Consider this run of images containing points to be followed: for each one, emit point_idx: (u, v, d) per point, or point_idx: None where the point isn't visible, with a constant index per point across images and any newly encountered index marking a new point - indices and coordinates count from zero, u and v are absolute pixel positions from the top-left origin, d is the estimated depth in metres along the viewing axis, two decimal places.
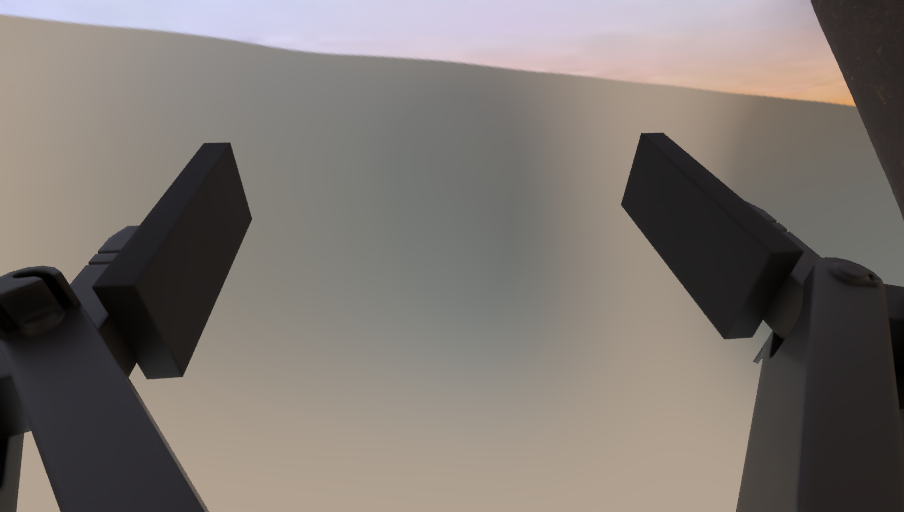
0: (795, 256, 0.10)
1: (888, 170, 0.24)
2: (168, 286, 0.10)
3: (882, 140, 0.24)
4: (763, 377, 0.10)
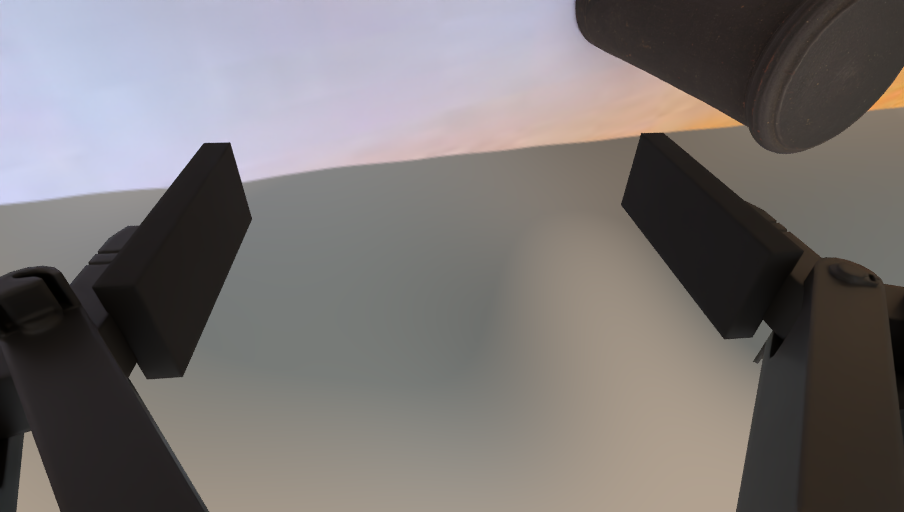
0: (795, 256, 0.10)
1: (686, 86, 0.28)
2: (168, 286, 0.10)
3: (667, 70, 0.29)
4: (763, 377, 0.10)
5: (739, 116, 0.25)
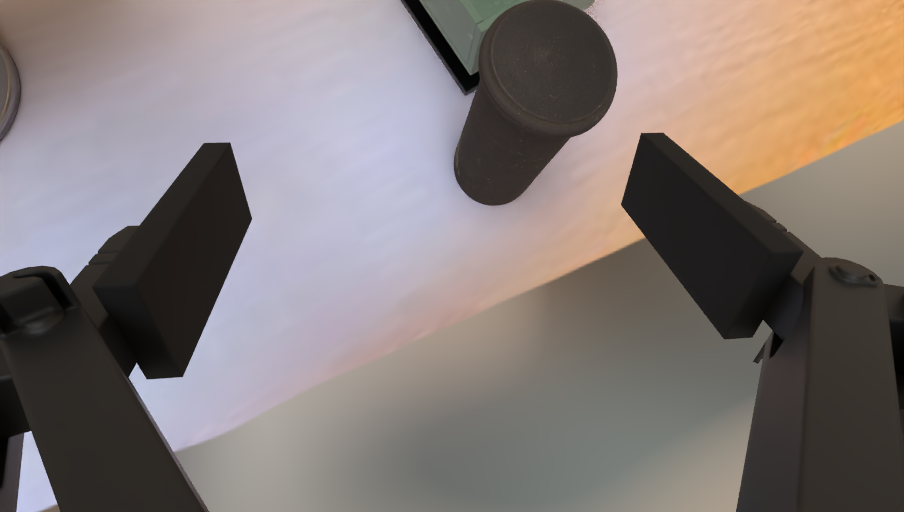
0: (795, 256, 0.10)
1: (506, 157, 0.34)
2: (168, 286, 0.10)
3: (494, 159, 0.35)
4: (763, 377, 0.10)
5: (523, 134, 0.29)
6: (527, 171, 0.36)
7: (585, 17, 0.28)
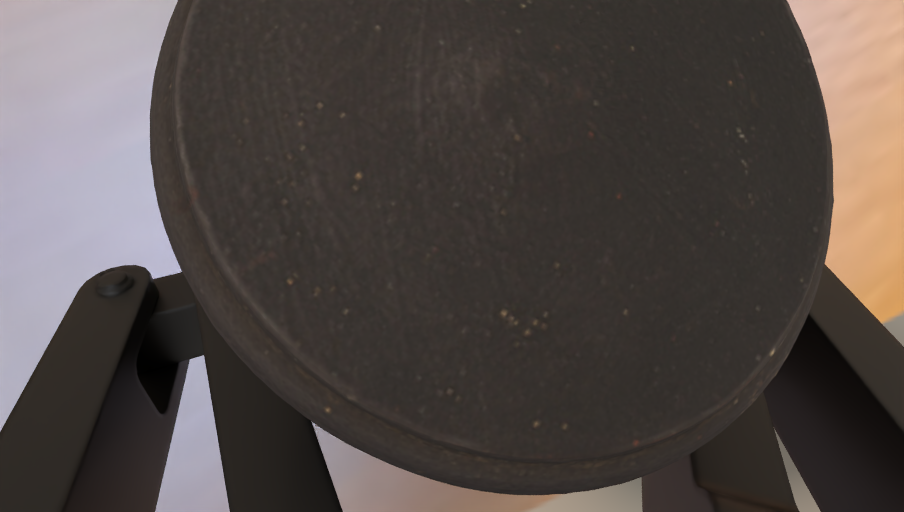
0: None
1: None
2: None
3: None
4: None
5: None
6: None
7: None
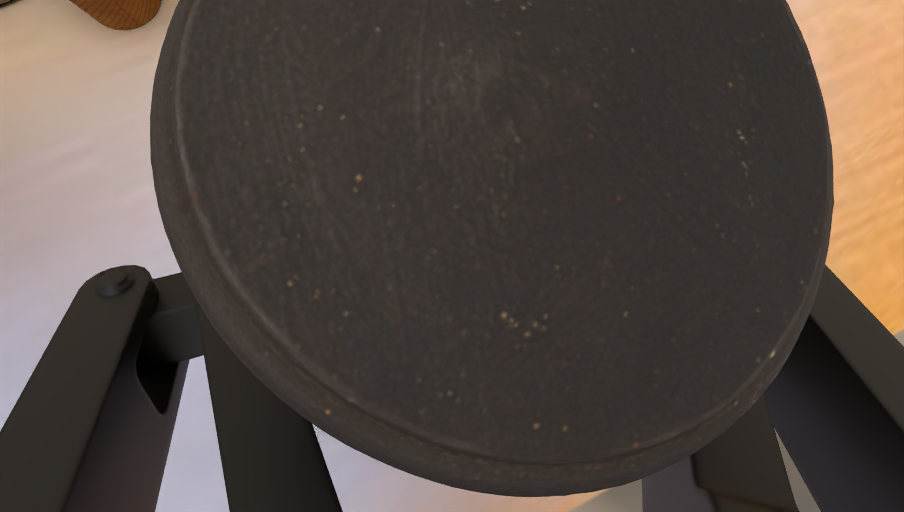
0: None
1: None
2: None
3: None
4: None
5: None
6: None
7: None
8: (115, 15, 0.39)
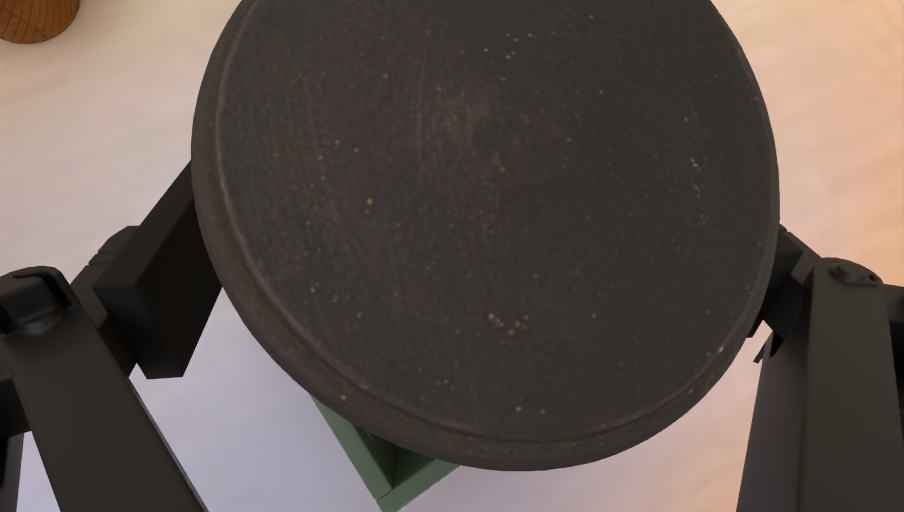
0: (795, 256, 0.10)
1: None
2: (168, 287, 0.10)
3: None
4: (763, 377, 0.10)
5: None
6: None
7: None
8: (6, 24, 0.28)
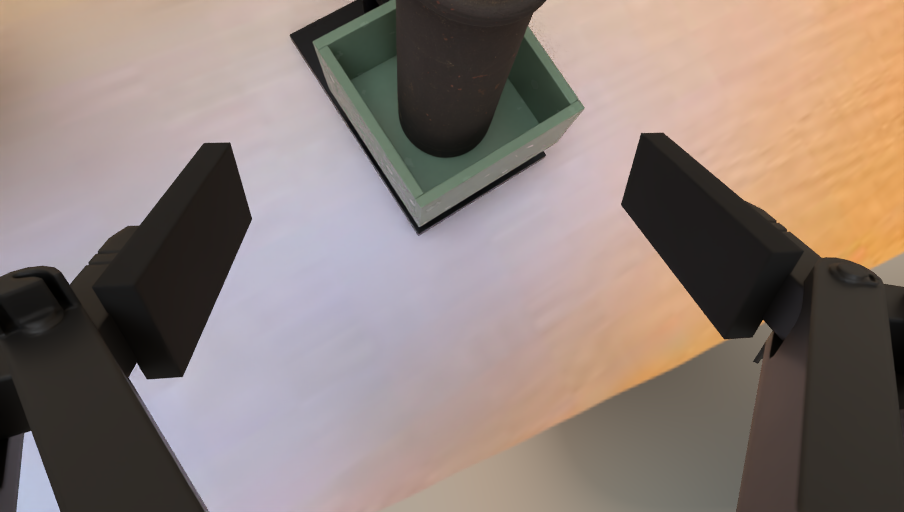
0: (795, 256, 0.10)
1: (437, 72, 0.27)
2: (168, 286, 0.10)
3: (425, 80, 0.28)
4: (763, 377, 0.10)
5: (444, 25, 0.22)
6: (469, 98, 0.29)
7: None
8: None
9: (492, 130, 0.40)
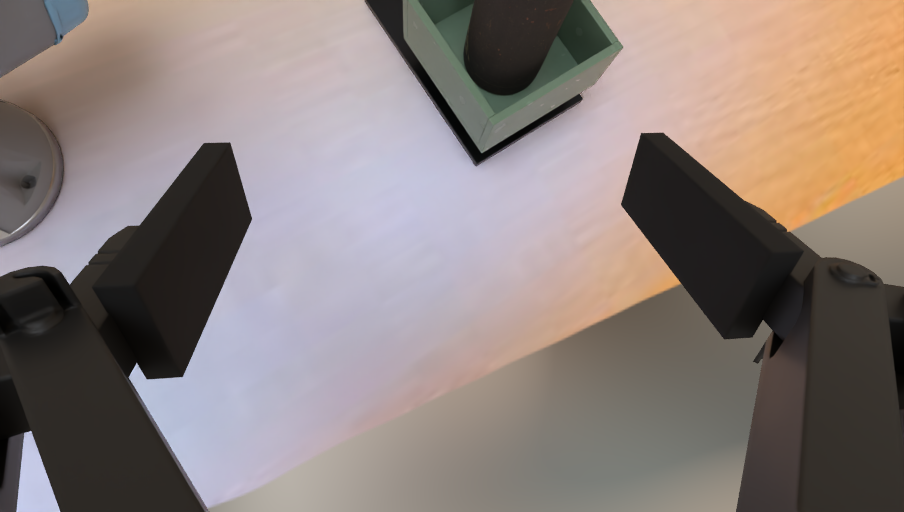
0: (795, 256, 0.10)
1: (517, 6, 0.34)
2: (168, 287, 0.10)
3: (505, 15, 0.36)
4: (763, 377, 0.10)
5: None
6: (537, 31, 0.37)
7: None
8: None
9: (541, 73, 0.48)
